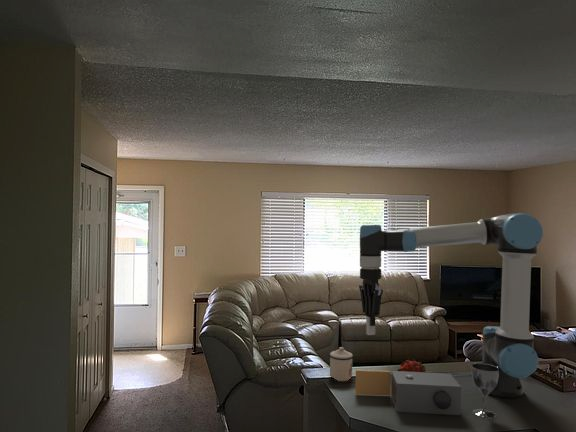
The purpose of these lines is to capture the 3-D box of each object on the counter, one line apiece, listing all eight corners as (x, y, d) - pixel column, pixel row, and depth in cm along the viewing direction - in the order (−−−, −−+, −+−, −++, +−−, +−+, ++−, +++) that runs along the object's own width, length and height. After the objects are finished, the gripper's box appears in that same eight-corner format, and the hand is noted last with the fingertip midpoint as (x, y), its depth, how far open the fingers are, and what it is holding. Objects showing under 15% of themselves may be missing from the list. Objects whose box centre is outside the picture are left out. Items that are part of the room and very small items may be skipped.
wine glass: (496, 411, 142) (497, 364, 142) (499, 421, 134) (500, 372, 135) (470, 407, 145) (470, 361, 145) (472, 417, 137) (472, 369, 137)
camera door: (389, 393, 153) (389, 370, 154) (390, 395, 152) (390, 371, 152) (355, 392, 154) (355, 369, 154) (355, 394, 153) (356, 370, 153)
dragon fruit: (428, 385, 168) (398, 390, 167) (419, 366, 175) (391, 371, 174) (432, 371, 163) (401, 377, 162) (422, 353, 170) (393, 358, 169)
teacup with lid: (354, 382, 165) (354, 351, 166) (330, 381, 165) (331, 350, 165) (349, 371, 177) (350, 342, 178) (327, 370, 177) (327, 342, 177)
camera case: (450, 399, 150) (450, 372, 150) (462, 417, 137) (462, 386, 137) (390, 396, 152) (391, 369, 152) (397, 413, 138) (397, 383, 139)
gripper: (389, 269, 150) (390, 338, 150) (370, 265, 163) (370, 329, 162) (370, 270, 148) (370, 339, 147) (352, 266, 160) (352, 330, 160)
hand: (370, 334), depth 155 cm, fingers closed
